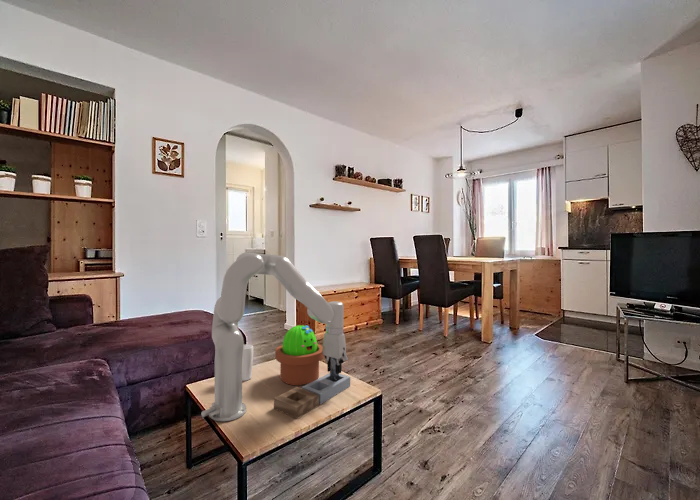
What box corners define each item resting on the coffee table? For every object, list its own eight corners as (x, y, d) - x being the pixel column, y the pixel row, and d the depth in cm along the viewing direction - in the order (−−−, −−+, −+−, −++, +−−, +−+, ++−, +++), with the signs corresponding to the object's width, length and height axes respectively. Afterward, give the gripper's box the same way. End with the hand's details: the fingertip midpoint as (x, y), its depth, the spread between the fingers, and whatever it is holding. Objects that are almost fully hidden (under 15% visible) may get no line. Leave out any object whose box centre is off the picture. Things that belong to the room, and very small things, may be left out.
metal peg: (335, 386, 137) (335, 353, 137) (327, 383, 139) (328, 351, 139) (340, 383, 140) (341, 351, 140) (333, 380, 142) (333, 349, 142)
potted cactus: (267, 376, 150) (267, 323, 149) (305, 365, 165) (306, 316, 164) (292, 393, 134) (292, 333, 133) (332, 378, 148) (333, 325, 148)
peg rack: (320, 404, 125) (320, 394, 124) (301, 396, 130) (301, 387, 130) (350, 386, 141) (350, 377, 141) (332, 380, 147) (332, 371, 147)
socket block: (296, 418, 114) (296, 407, 114) (273, 408, 121) (273, 398, 121) (318, 405, 124) (318, 395, 124) (296, 396, 131) (296, 386, 131)
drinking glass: (234, 378, 147) (235, 346, 147) (248, 374, 152) (248, 343, 152) (242, 383, 142) (242, 349, 142) (255, 378, 147) (256, 346, 147)
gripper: (314, 328, 141) (314, 370, 141) (345, 335, 131) (344, 379, 132) (325, 325, 147) (325, 365, 147) (355, 331, 137) (354, 373, 138)
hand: (334, 371), depth 139 cm, fingers closed on metal peg, 3 cm apart
